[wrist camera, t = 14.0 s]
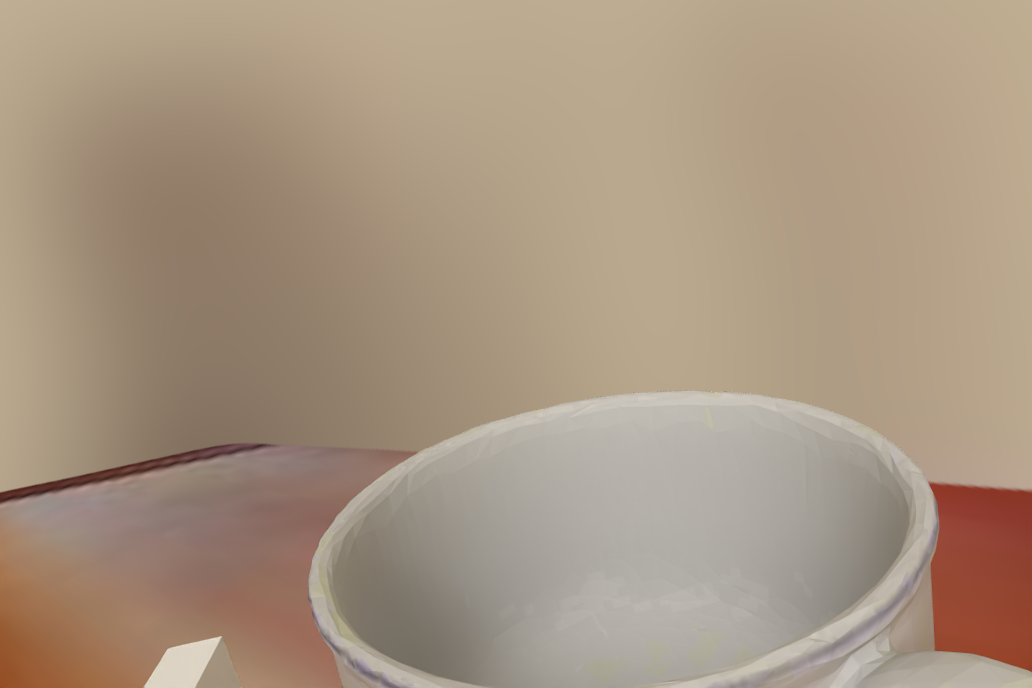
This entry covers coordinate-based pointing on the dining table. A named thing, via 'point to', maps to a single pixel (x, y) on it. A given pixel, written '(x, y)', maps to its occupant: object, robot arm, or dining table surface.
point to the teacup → (644, 555)
